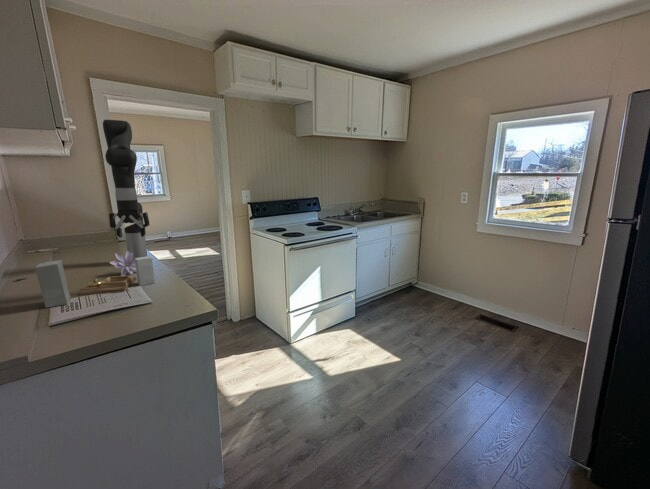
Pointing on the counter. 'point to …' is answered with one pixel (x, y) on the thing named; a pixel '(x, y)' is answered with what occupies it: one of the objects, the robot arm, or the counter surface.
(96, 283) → the brass knob disc
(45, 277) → the skincare box
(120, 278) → the carrier board
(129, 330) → the counter surface
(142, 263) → the skincare box
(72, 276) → the counter surface
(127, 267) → the water lily
